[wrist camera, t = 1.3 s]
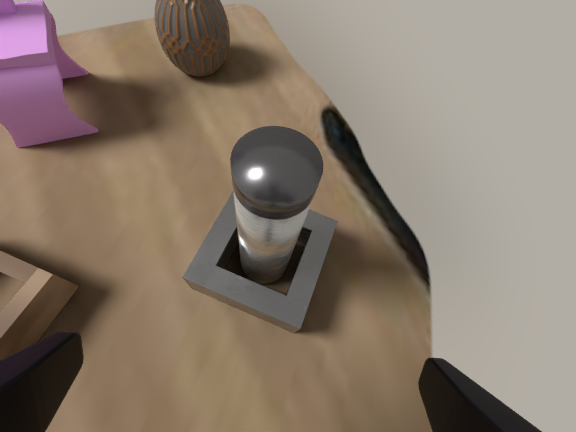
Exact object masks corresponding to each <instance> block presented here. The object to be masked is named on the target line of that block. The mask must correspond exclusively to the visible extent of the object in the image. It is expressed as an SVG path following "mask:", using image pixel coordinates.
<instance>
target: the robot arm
mask: <svg viewBox="0 0 576 432" xmlns="http://www.w3.org/2000/svg"><path fill="white" fill-rule="evenodd" d="M82 364H83V348H82V340H81V335H80V334H79V333H78V332H73V331H59V332H57V333H55V334H53V335H51V336H49V337H47V338H45V339H43V340H41V341H39V342H37V343H35V344H33V345H31V346H29V347H26V348H24V349H22V350H20V351H18V352H16V353H14V354H12V355H10V356H8V357H6V358H4V359H2V360H0V432H45V431H46V429H47V428H48V426H49V424H50V423H51V421H52V419H53V417H54V415H55V414H56V412H57V410H58V408H59V406H60V405H61V403H62V401H63V399H64V398H65V396H66V394H67V392H68V390H69V389H70V387H71V385H72V383H73V381H74V380H75V378H76V376H77V374H78V373H79V371H80V369H81V367H82ZM418 384H419V391H420V394H421V397H422V400H423V403H424V406H425V409H426V413H427V416H428V419H429V422H430V425H431V428H432V431H433V432H542V431H540V430H539V429H537V428H536V427H535V426H533V425H532V424H531V423H529V422H528V421H527V420H525V419H524V418H523V417H521V416H520V415H519V414H517V413H516V412H515V411H513V410H512V409H510V408H509V407H508V406H506V405H505V404H504V403H502V402H501V401H500V400H498V399H497V398H496V397H494V396H493V395H492V394H490V393H489V392H487V391H486V390H485V389H483V388H482V387H481V386H479V385H478V384H477V383H475V382H474V381H472V380H471V379H470V378H469V377H467V376H466V375H465V374H463V373H462V372H460V371H459V370H458V369H457V368H455V367H454V366H452V365H451V364H450V363H448V362H447V361H446V360H444V359H440V358H428V359H427V360H426V361H425V363H424V366H423V369H422V372H421V375H420V378H419V383H418Z"/></svg>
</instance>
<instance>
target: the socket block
mask: <svg viewBox="0 0 576 432" xmlns="http://www.w3.org/2000/svg"><path fill="white" fill-rule="evenodd" d="M337 222H338V221H336V220H333V219H331V218H328V217H326V216H323V215H321V214H318V213H316V212H313V211H311V210H309V211H308V213H307V216H306V218H305V221H304V224H303V226H302V229H301V231H300V234H299V237H298V239H297V242H298V243H300V244H303V245H305V247H304V250H303V252H302V255H301V257H300V260H299V263H298V265H297V268H296V270H295V273H294V275H293V278H292V280H291V283H290V285H289V288H288V291H287V293H286V296H285V295H283V294H281V293H278V292H276V291H274V290H271V289H269V288H267V287H264V286H262V285H260V284H257V283H255V282H253V281H250V280H248V279H246V278H243V277H241V276H239V275H236V274H234V273H232V272H229V271H227V270H225V267H226V265H227V263H228V261H229V259H230V257H231V255H232V253H233V252H234V250H235V248H236V246H237V244H238V242H239V239H238V230H237V220H236V211H235V201H234V192H232V194H231V196H230V197H229V199H228V201H227V202H226V204H225V206H224V208H223V209H222V211H221V213H220V214H219V216H218V218H217V219H216V221H215V223H214V225H213V226H212V228H211V230H210V231H209V233H208V235H207V236H206V238H205V240H204V242H203V243H202V245H201V247H200V248H199V250H198V252H197V254H196V255H195V257H194V259H193V260H192V262H191V264H190V265H189V267H188V269H187V271H186V272H185V274H184V276H183V277H182V278H183V279H184V280H185V281H186V283H187V284H188V285H189V286H190V287H191V288H192V289H194V290H196V291H199V292H201V293H203V294H205V295H208V296H210V297H212V298H215V299H217V300H219V301H221V302H224V303H226V304H228V305H231V306H233V307H235V308H237V309H240V310H242V311H244V312H247V313H249V314H251V315H253V316H256V317H258V318H260V319H263V320H265V321H267V322H270V323H272V324H274V325H276V326H279V327H281V328H283V329H286V330H288V331H290V332H292V333H295V332H296V331H298V330H300V329H301V326H302V323H303V320H304V317H305V314H306V311H307V308H308V306H309V303H310V300H311V297H312V294H313V291H314V288H315V285H316V283H317V280H318V277H319V274H320V271H321V268H322V265H323V262H324V259H325V257H326V254H327V251H328V248H329V245H330V242H331V239H332V236H333V234H334V231H335V228H336V225H337Z"/></svg>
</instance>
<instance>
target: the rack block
mask: <svg viewBox="0 0 576 432" xmlns="http://www.w3.org/2000/svg"><path fill="white" fill-rule="evenodd" d="M0 272H2V273H4V274H6V275H8V276H11V277H13V278H15V279H17V280H19V281H22V282H24V283H25V284H24V285H23V287H22V288H21V289H20V290H19V291H18V292H17V294H16V295H15V296H14V297H13V298H12V299H11V301H10V302H9V303H8V304H7V305H6V307H5V308H4V309H3V310H2V311H1V312H0V360H2V359H4V358H6V357H8V356H10V355H12V354H14V353H16V352H18V351H20V350H22V349H24V348H26V347H29V346H31V345H33V344H35V343H37V341H38V340H39V339H40V337H41V336H42V335H43V333H44V332H45V331H46V330H47V328H48V327H49V326H50V324H51V323H52V322H53V320H54V319H55V318H56V316H57V315H58V314H59V312H60V311H61V310H62V308H63V307H64V306H65V304H66V303H67V302H68V301H69V299H70V298H71V297H72V295H73V294H74V293H75V291H76V290H77V289H78V287H79V286H78V285H76V284H74V283H72V282H69V281H67V280H65V279H63V278H61V277H58V276H56V275H54V274H52V273H49V272H47V271H45V270H43V269H41V268H38V267H36V266H34V265H32V264H29V263H27V262H25V261H23V260H21V259H18V258H16V257H14V256H12V255H9V254H7V253H5V252H3V251H1V250H0Z"/></svg>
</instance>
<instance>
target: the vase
mask: <svg viewBox="0 0 576 432" xmlns="http://www.w3.org/2000/svg"><path fill="white" fill-rule="evenodd" d="M155 26H156V31H157V35H158V38H159V41H160V44H161V46H162V48H163V50H164V52H165V54H166V55H167V57H168V58H169V60H170V61H171V62H172V63H173V64H174V65H175V66H176V67H177V68H179V69H180V70H182V71H183V72H185V73H187V74H190V75H193V76H207V75H210V74H212V73H214V72H215V71H217V70H218V69H219V68H220V67H221V66H222V64H223V63H224V62H225V59H226V57H227V54H228V50H229V44H230V33H229V24H228V20H227V16H226V13H225V11H224V8H223V6H222V4H221V2H220V0H157V1H156V5H155Z"/></svg>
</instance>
